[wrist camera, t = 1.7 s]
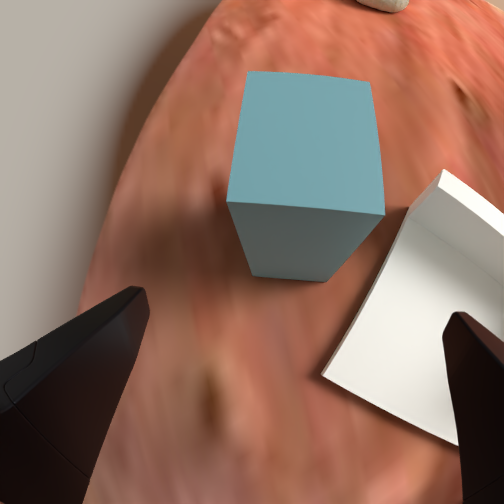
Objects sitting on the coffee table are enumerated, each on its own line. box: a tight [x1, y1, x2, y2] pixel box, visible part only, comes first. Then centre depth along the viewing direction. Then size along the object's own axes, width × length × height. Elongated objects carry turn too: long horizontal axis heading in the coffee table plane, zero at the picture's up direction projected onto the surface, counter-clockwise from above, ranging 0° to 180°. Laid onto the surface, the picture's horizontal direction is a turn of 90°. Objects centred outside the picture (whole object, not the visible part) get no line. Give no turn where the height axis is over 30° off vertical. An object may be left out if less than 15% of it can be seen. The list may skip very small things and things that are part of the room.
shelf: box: [321, 169, 504, 446], centre depth 15 cm, size 14×18×8 cm
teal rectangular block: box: [226, 71, 385, 282], centre depth 16 cm, size 6×5×12 cm
